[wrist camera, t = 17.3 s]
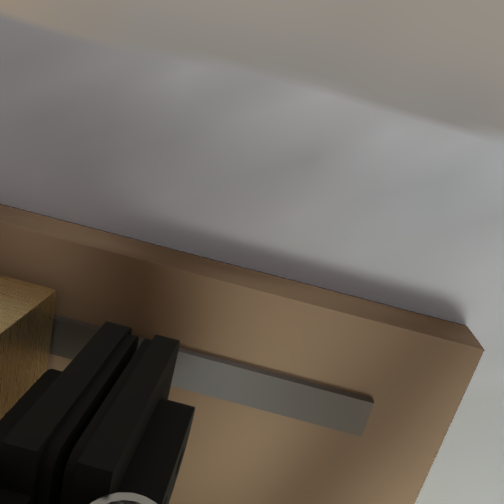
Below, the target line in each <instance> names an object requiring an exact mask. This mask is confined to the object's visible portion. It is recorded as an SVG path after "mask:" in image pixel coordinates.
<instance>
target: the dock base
mask: <svg viewBox="0 0 504 504" xmlns="http://www.w3.org/2000/svg"><path fill="white" fill-rule="evenodd" d="M0 275H2V276H6V277H10V278H14V279H17V280H21V281H25V282H29V283H33V284H36V285H40V286H44V287H48V288H51V289H55V290H57V291H56V299H55V308H54V317H53V325H52V334H51V342H50V351H49V359H48V368H47V370H48V369H55V370H59V371H63V370H64V369H65V368H66V367H67V366H68V365H69V364H70V362H71V361H72V360H73V359H74V358H75V357H76V355H77V354H78V353H79V352H80V351H81V350H82V349H83V347H84V346H85V345H86V344H87V343H88V342H89V341H90V339H91V338H92V337H93V336H94V335H95V334H96V333H97V331H98V330H99V329H100V328H101V327H102V326H103V324H104V323H105V322H107V321H108V322H112V323H116V324H120V325H123V326H127V327H131V328H132V335H136V336H138V337H139V341H138V347H139V346H140V344H141V343H142V341H143V340H144V339H145V338H147V339H151V340H152V339H153V338H154V336H155V335H156V334H157V335H161V336H165V337H169V338H172V339H176V340H180V345H179V351H178V355H177V360H176V364H175V369H174V373H173V378H172V383H171V387H170V392H169V396H168V400H171V401H175V402H179V403H182V404H186V405H190V406H194V407H195V412H194V417H193V421H192V425H191V429H190V433H189V437H188V441H187V445H186V449H185V452H184V456H183V460H182V463H181V466H180V470H179V473H178V476H177V479H176V482H175V486H174V489H173V492H172V495H171V498H170V501H169V504H414V503H415V501H416V499H417V497H418V495H419V492H420V490H421V488H422V486H423V484H424V481H425V479H426V477H427V475H428V473H429V470H430V468H431V466H432V464H433V462H434V459H435V457H436V455H437V453H438V451H439V448H440V446H441V444H442V442H443V440H444V437H445V435H446V433H447V431H448V428H449V426H450V424H451V422H452V420H453V417H454V415H455V413H456V411H457V409H458V406H459V404H460V402H461V400H462V398H463V395H464V393H465V391H466V389H467V387H468V384H469V382H470V380H471V378H472V376H473V373H474V371H475V369H476V367H477V365H478V362H479V360H480V358H481V356H482V354H483V351H484V349H483V347H482V346H481V344H480V343H479V342H478V340H477V339H476V338H475V336H474V335H473V334H472V332H471V331H470V330H469V328H468V327H467V326H464V325H460V324H457V323H453V322H449V321H445V320H441V319H437V318H434V317H430V316H426V315H422V314H418V313H414V312H411V311H407V310H403V309H399V308H395V307H391V306H388V305H384V304H380V303H376V302H372V301H369V300H365V299H361V298H357V297H353V296H349V295H346V294H342V293H338V292H334V291H330V290H326V289H323V288H319V287H315V286H311V285H307V284H303V283H300V282H296V281H292V280H288V279H284V278H280V277H277V276H273V275H269V274H265V273H261V272H257V271H254V270H250V269H246V268H242V267H238V266H234V265H231V264H227V263H223V262H219V261H215V260H212V259H208V258H204V257H200V256H196V255H192V254H189V253H185V252H181V251H177V250H173V249H169V248H166V247H162V246H158V245H154V244H150V243H146V242H143V241H139V240H135V239H131V238H127V237H123V236H120V235H116V234H112V233H108V232H104V231H100V230H97V229H93V228H89V227H85V226H81V225H78V224H74V223H70V222H66V221H62V220H58V219H55V218H51V217H47V216H43V215H39V214H35V213H32V212H28V211H24V210H20V209H16V208H12V207H9V206H5V205H1V204H0ZM138 347H137V349H138Z"/></svg>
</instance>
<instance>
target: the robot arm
mask: <svg viewBox="0 0 504 504" xmlns="http://www.w3.org/2000/svg"><path fill="white" fill-rule="evenodd" d="M138 341H139V337H138V336H136V335H132V328H131V327H127V326H123V325H120V324H116V323H112V322H108V321H107V322H105V323H104V324H103V326H102V327H101V328H100V329H99V330H98V331H97V333H96V334H95V335H94V336H93V337H92V338H91V339H90V341H89V342H88V343H87V344H86V345H85V346H84V347H83V349H82V350H81V351H80V352H79V353H78V354H77V355H76V357H75V358H74V359H73V360H72V361H71V362H70V364H69V365H68V366H67V367H66V368H65V369H64V370H63V371H59V370H55V369H48V370H47V371H46V372H45V373H43V375H42V376H41V377H40V378H39V379H38V380H37V381H36V382H35V383H34V384H33V385H32V386H31V387H30V388H29V390H28V391H27V392H26V393H25V394H24V395H23V396H22V397H21V398H20V399H19V400H18V401H17V402H16V403H15V405H14V406H13V407H12V408H11V409H10V410H9V411H8V412H7V413H6V414H5V415H4V416H3V417H2V418H1V420H0V504H169V501H170V498H171V495H172V492H173V489H174V486H175V482H176V479H177V476H178V473H179V470H180V466H181V463H182V460H183V456H184V452H185V449H186V445H187V441H188V437H189V433H190V429H191V425H192V421H193V417H194V412H195V407H194V406H190V405H186V404H182V403H179V402H175V401H171V400H168V396H169V392H170V387H171V383H172V378H173V373H174V369H175V364H176V360H177V355H178V351H179V345H180V340H176V339H172V338H169V337H165V336H161V335H157V334H156V335H155V336H154V338H153V339H152V340H151V339H147V338H145V339H144V340H143V341H142V343H141V344H140V346H139V347H138ZM137 347H138V349H137Z"/></svg>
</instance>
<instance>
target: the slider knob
mask: <svg viewBox="0 0 504 504" xmlns="http://www.w3.org/2000/svg"><path fill="white" fill-rule="evenodd" d="M56 291H57V290H55V289H51V288H48V287H44V286H40V285H36V284H33V283H29V282H25V281H21V280H17V279H14V278H10V277H6V276H2V275H0V420H1V418H2V417H3V416H4V415H5V414H6V413H7V412H8V411H9V410H10V409H11V408H12V407H13V406H14V405H15V403H16V402H17V401H18V400H19V399H20V398H21V397H22V396H23V395H24V394H25V393H26V392H27V391H28V390H29V388H30V387H31V386H32V385H33V384H34V383H35V382H36V381H37V380H38V379H39V378H40V377H41V376H42V375H43V373H45V372H46V371H47V368H48V359H49V351H50V342H51V334H52V325H53V317H54V308H55V299H56Z"/></svg>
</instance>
